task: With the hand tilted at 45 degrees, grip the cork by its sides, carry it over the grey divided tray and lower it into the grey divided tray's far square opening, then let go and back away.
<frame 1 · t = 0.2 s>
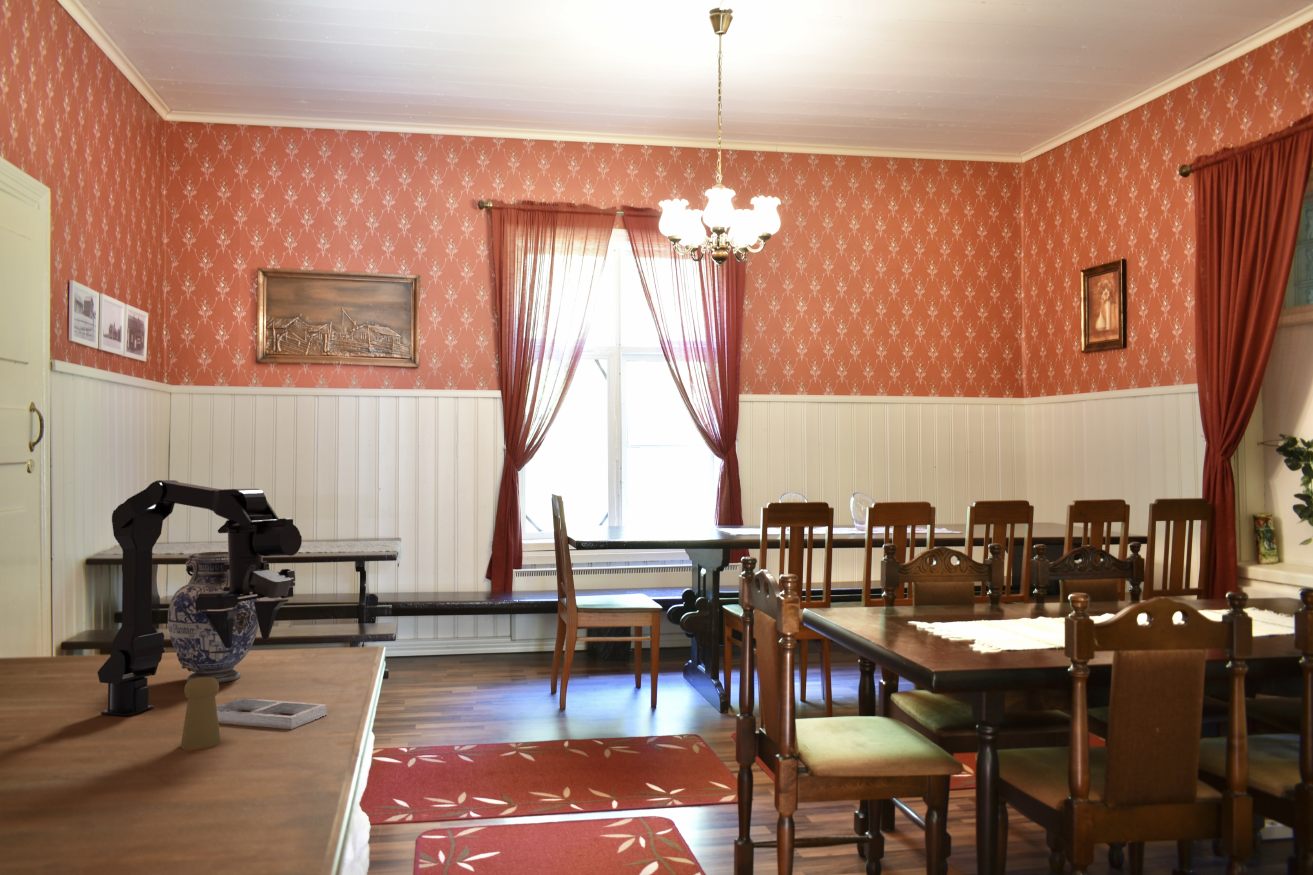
hand: (247, 643, 169), 14 cm above the table, tool pointing down, fingers open, 9 cm apart
grey divided tray: (265, 718, 171), on the table
decorative vase: (214, 680, 205), on the table
cork: (200, 745, 155), on the table
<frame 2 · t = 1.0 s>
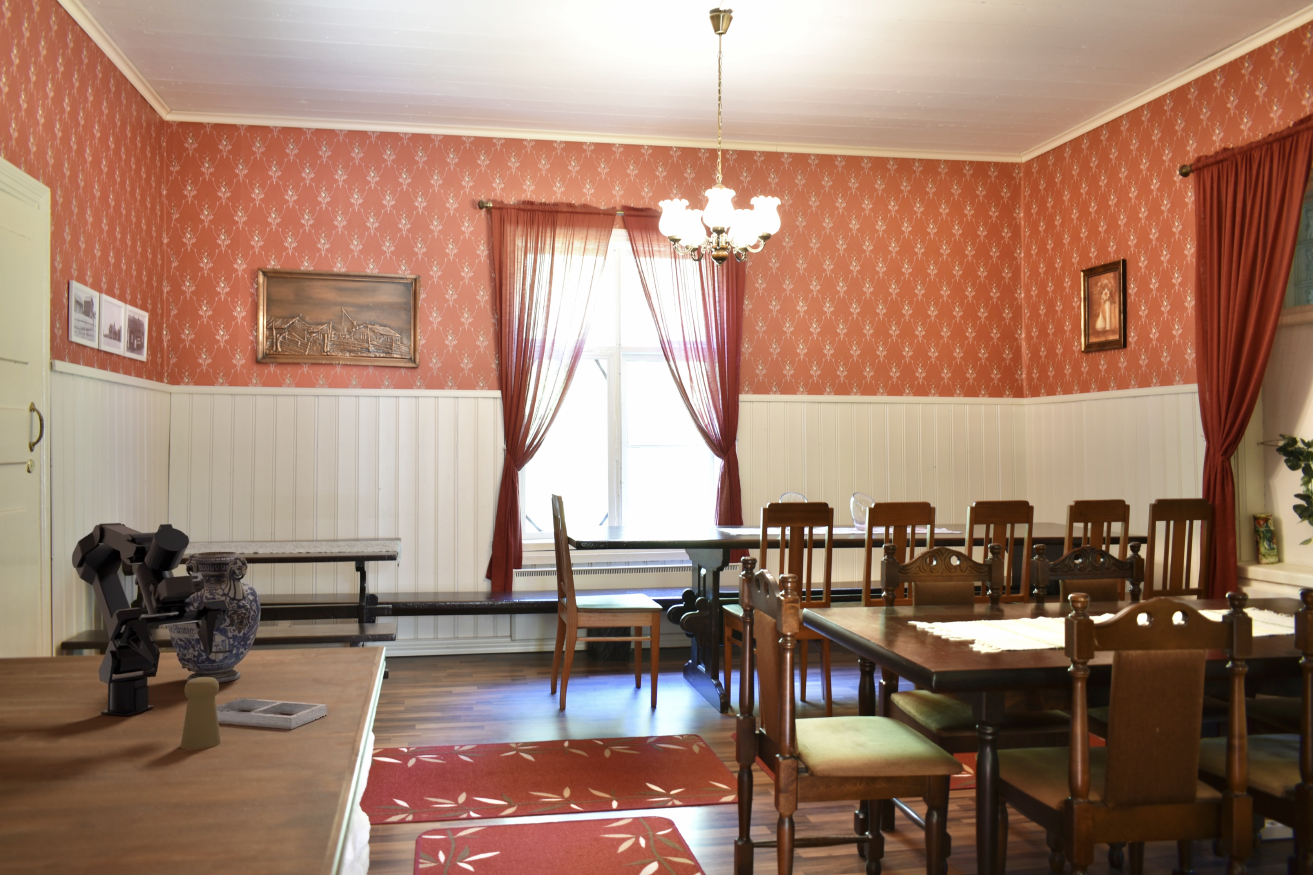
hand: (183, 657, 161), 13 cm above the table, tool tilted 45°, fingers open, 9 cm apart
nothing on the table moved.
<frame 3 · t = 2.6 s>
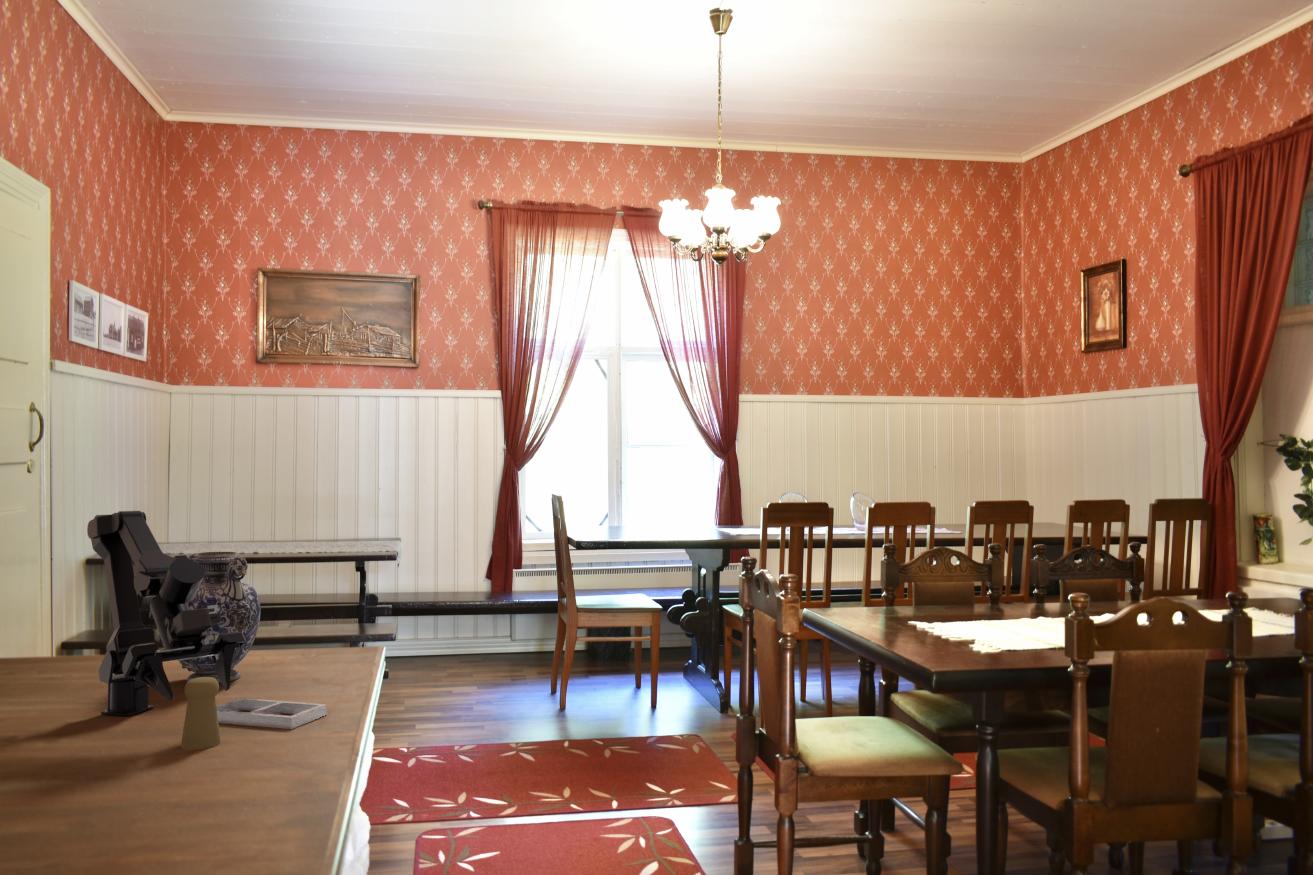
hand: (200, 693, 156), 8 cm above the table, tool tilted 45°, fingers open, 9 cm apart
nothing on the table moved.
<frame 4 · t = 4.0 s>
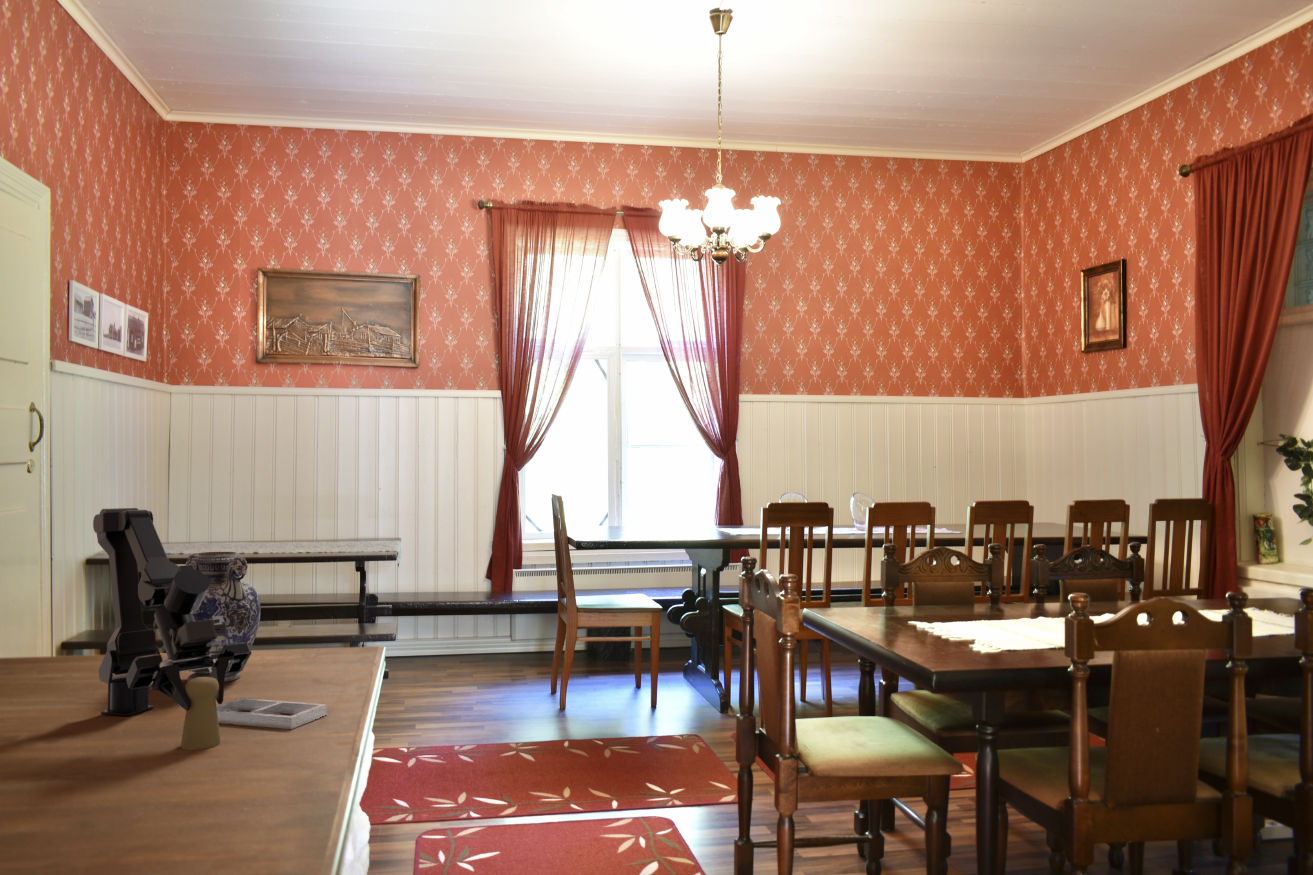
hand: (205, 705, 154), 7 cm above the table, tool tilted 45°, fingers closed on cork, 5 cm apart
cork: (200, 745, 155), on the table, touching gripper
everything else where it was.
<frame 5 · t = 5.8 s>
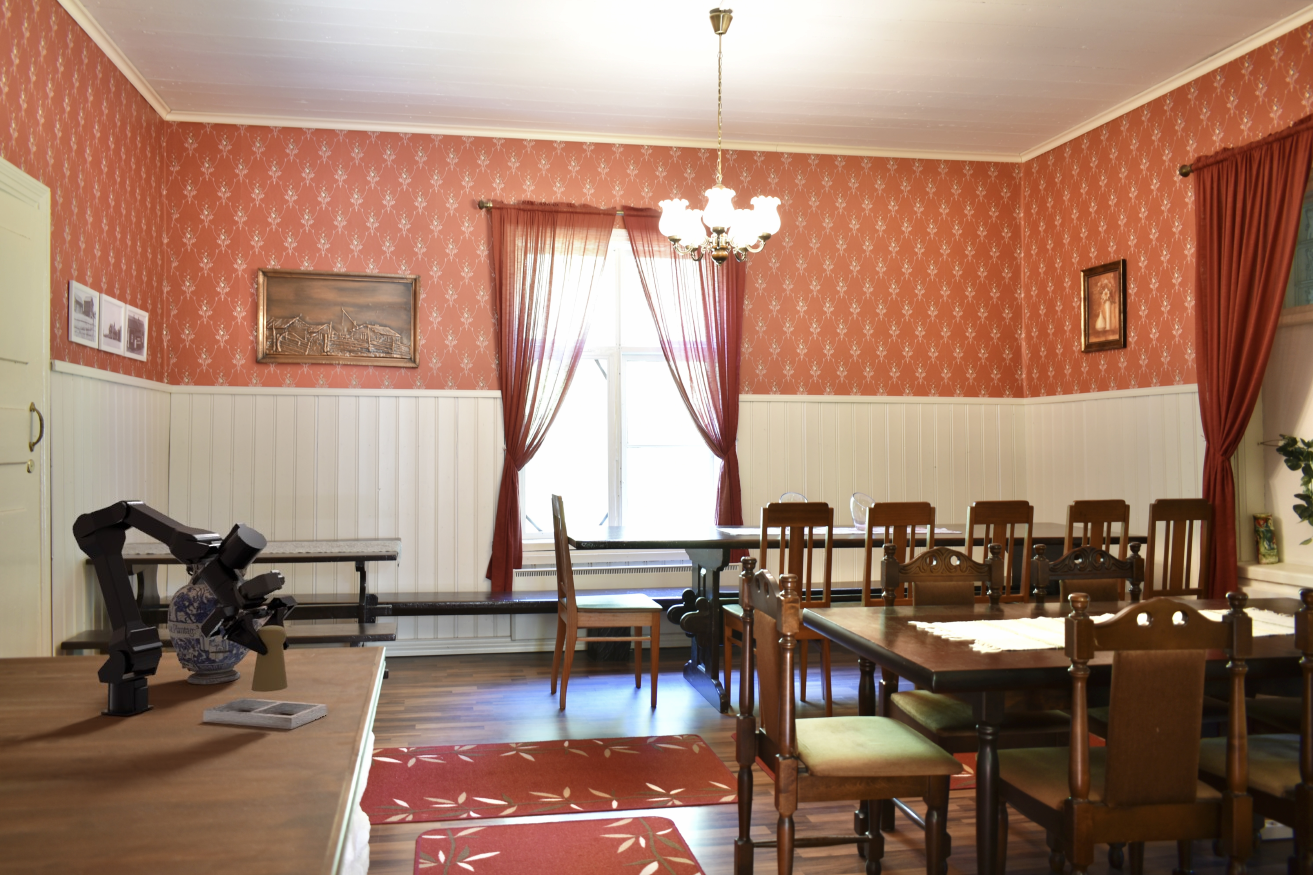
hand: (276, 651, 166), 13 cm above the table, tool tilted 45°, fingers closed on cork, 5 cm apart
cork: (269, 688, 166), point 7 cm above the table, touching gripper
everything else where it was.
when the fingers open (8 cm above the table, at t = 7.8 s): cork drops 1 cm, resting in grey divided tray.
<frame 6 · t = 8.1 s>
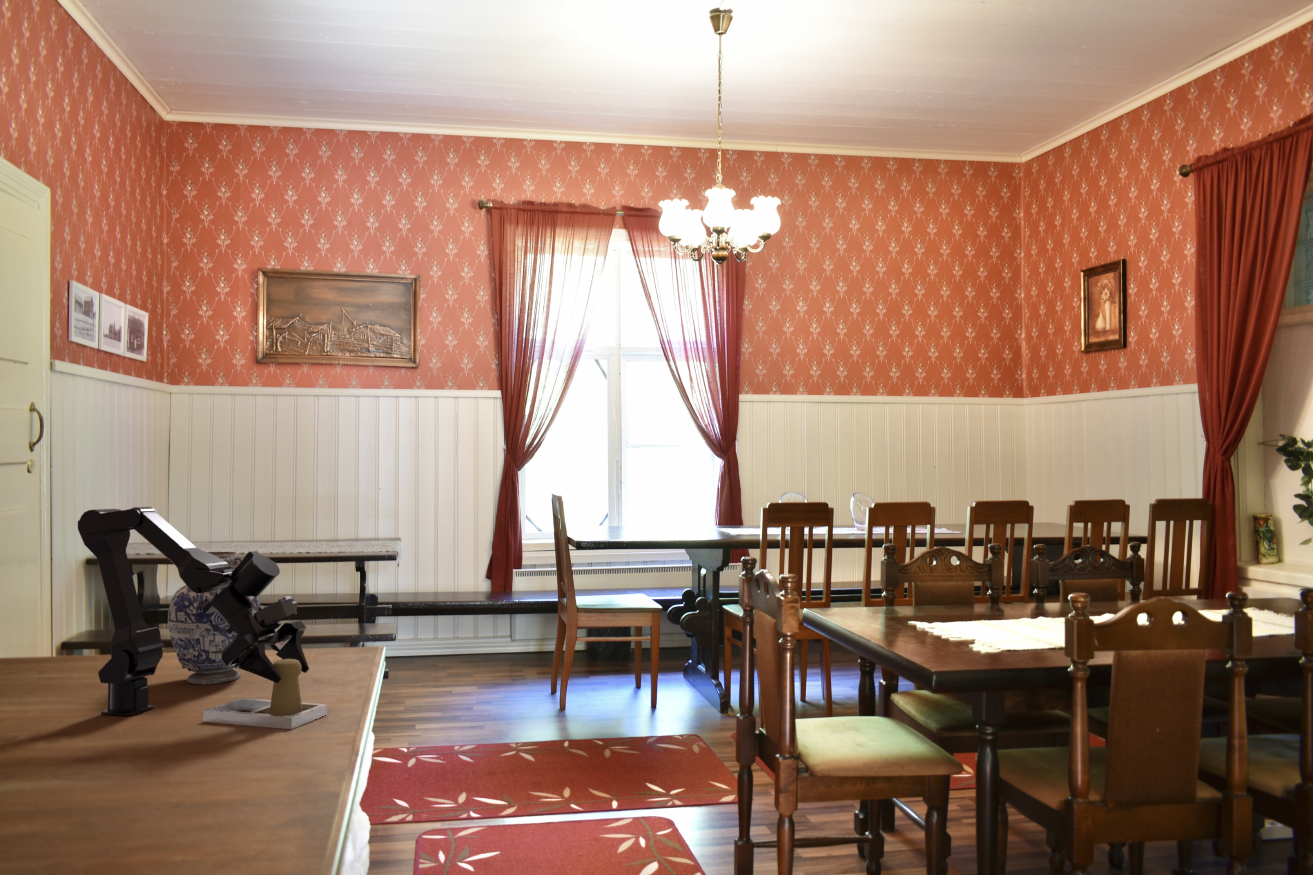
hand: (293, 675, 170), 8 cm above the table, tool tilted 45°, fingers open, 8 cm apart
cork: (285, 721, 170), resting in grey divided tray
everything else where it was.
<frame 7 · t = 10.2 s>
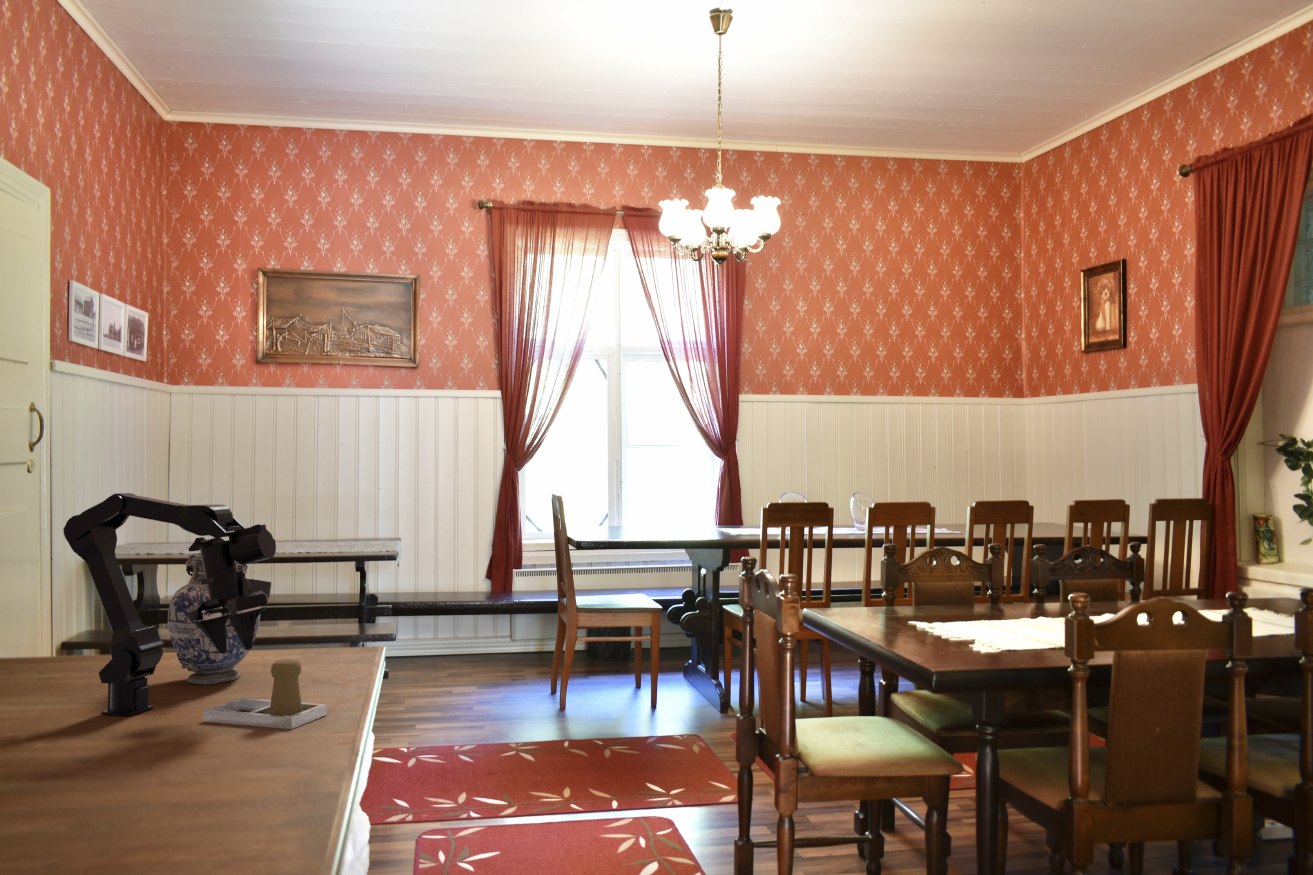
hand: (236, 651, 175), 12 cm above the table, tool pointing down, fingers open, 9 cm apart
nothing on the table moved.
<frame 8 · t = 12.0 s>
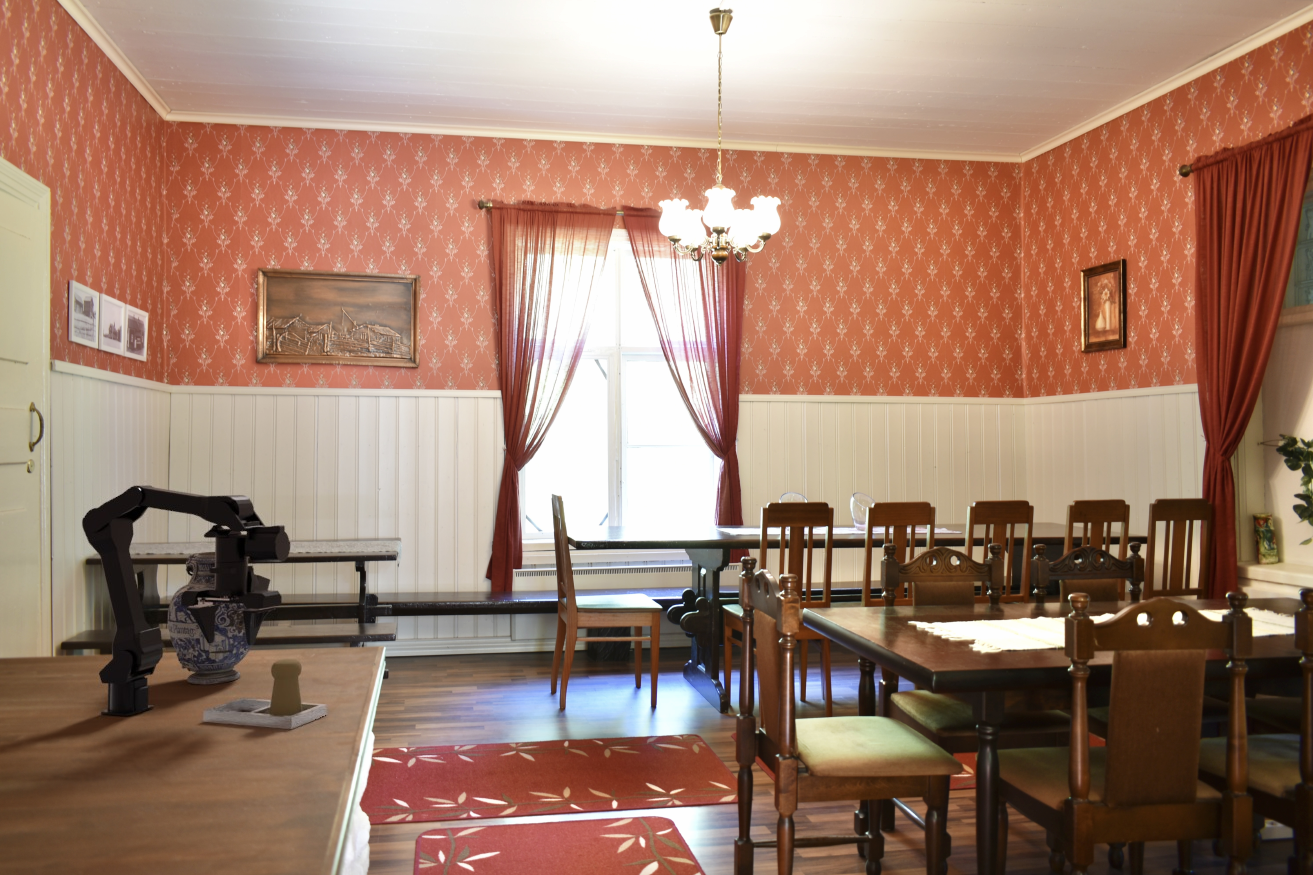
hand: (230, 644, 175), 13 cm above the table, tool pointing down, fingers open, 9 cm apart
nothing on the table moved.
at the end: cork 0.1 cm from the target spot, resting in grey divided tray; cork tilted 0°; the gripper is holding nothing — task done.
